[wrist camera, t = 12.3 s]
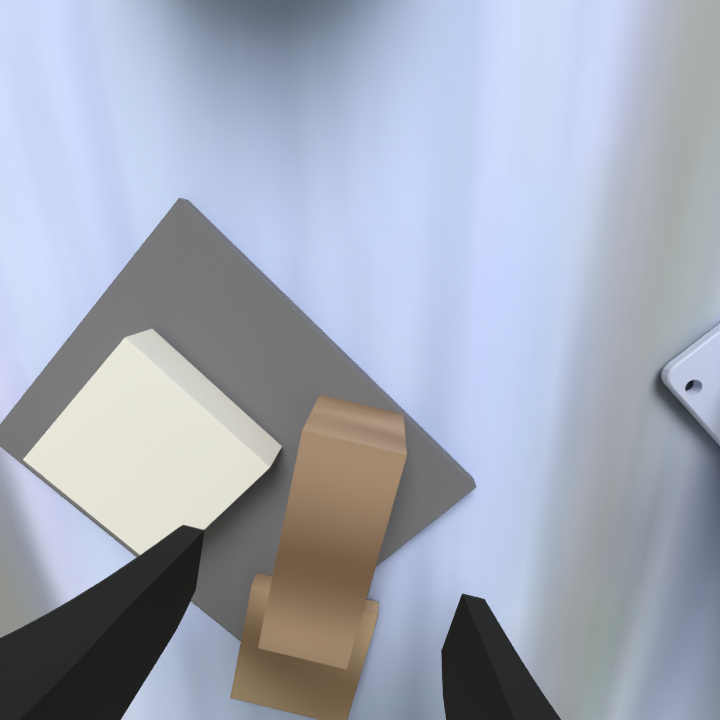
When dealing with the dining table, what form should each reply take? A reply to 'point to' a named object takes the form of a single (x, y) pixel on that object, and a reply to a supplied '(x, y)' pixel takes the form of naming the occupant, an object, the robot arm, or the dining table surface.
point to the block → (152, 445)
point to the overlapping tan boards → (323, 565)
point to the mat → (233, 393)
